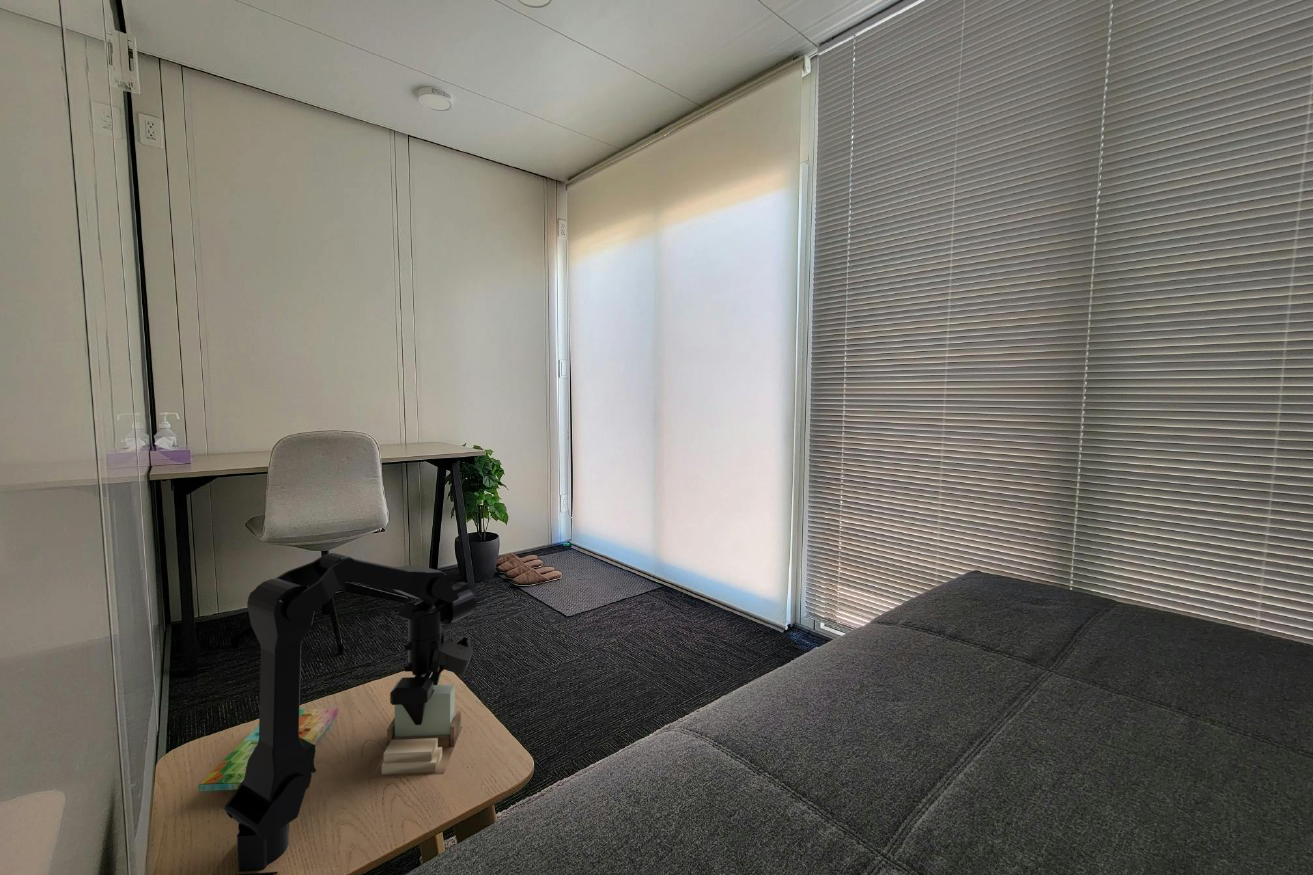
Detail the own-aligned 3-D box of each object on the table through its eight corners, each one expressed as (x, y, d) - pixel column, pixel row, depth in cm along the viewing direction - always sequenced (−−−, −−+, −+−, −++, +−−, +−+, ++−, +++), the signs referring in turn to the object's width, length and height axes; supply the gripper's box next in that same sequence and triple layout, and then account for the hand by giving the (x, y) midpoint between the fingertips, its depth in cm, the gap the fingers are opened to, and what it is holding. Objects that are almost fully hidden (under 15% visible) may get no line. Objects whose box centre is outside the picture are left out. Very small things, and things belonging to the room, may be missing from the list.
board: (450, 743, 100) (450, 693, 99) (394, 745, 99) (394, 695, 98) (454, 733, 103) (454, 684, 102) (400, 735, 101) (400, 686, 101)
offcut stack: (435, 771, 92) (435, 752, 92) (381, 774, 91) (381, 755, 91) (442, 756, 96) (442, 737, 96) (390, 758, 95) (390, 739, 95)
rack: (443, 778, 92) (443, 751, 92) (371, 782, 91) (371, 755, 90) (462, 731, 105) (462, 707, 104) (399, 733, 103) (398, 709, 103)
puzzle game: (337, 703, 105) (276, 776, 85) (338, 726, 106) (277, 803, 86) (275, 705, 104) (198, 779, 84) (276, 727, 104) (199, 806, 85)
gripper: (456, 657, 91) (456, 742, 92) (479, 612, 109) (479, 683, 110) (388, 658, 89) (389, 745, 91) (423, 613, 108) (423, 685, 109)
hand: (425, 712), depth 100 cm, fingers open, 7 cm apart
